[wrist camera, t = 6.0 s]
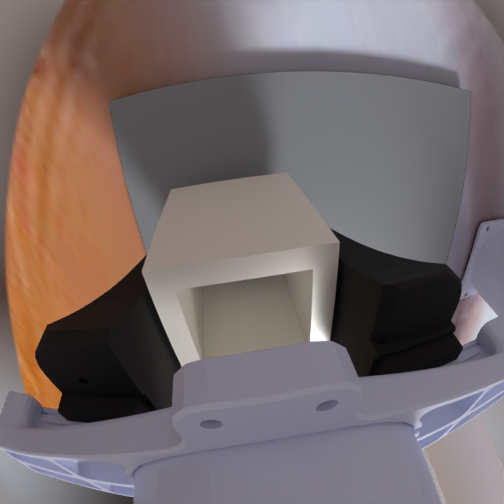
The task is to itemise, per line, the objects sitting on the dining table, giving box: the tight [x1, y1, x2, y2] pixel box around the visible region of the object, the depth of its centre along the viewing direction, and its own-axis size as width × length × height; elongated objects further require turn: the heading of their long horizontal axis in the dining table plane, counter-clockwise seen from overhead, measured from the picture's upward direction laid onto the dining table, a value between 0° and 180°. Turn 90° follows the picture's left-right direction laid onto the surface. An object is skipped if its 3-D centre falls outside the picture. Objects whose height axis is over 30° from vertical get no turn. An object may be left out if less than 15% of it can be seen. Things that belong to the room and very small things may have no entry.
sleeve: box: [142, 173, 340, 367], centre depth 11 cm, size 5×5×6 cm
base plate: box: [109, 71, 471, 264], centre depth 14 cm, size 20×14×4 cm
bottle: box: [423, 415, 504, 504], centre depth 18 cm, size 8×8×30 cm
